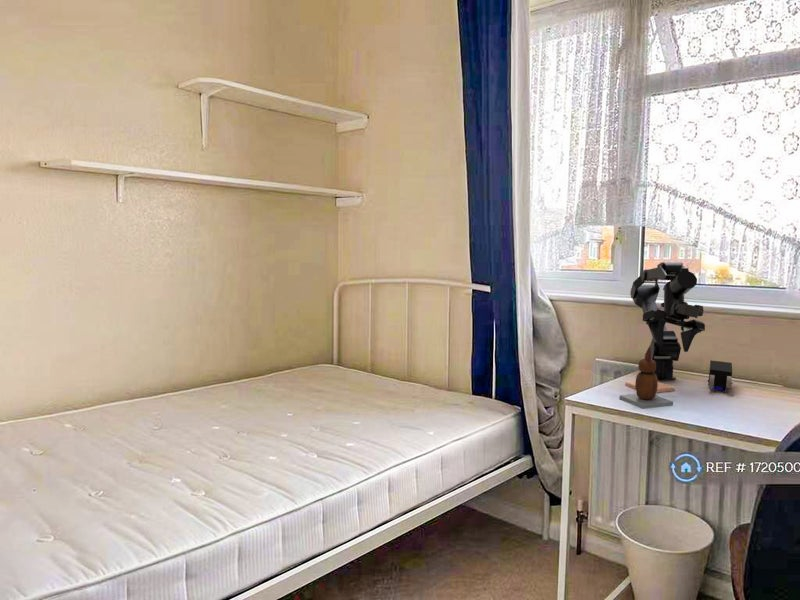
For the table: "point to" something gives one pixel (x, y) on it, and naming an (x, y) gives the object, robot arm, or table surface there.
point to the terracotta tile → (660, 387)
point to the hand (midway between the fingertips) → (673, 348)
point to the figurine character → (720, 375)
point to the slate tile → (646, 401)
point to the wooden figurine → (646, 378)
